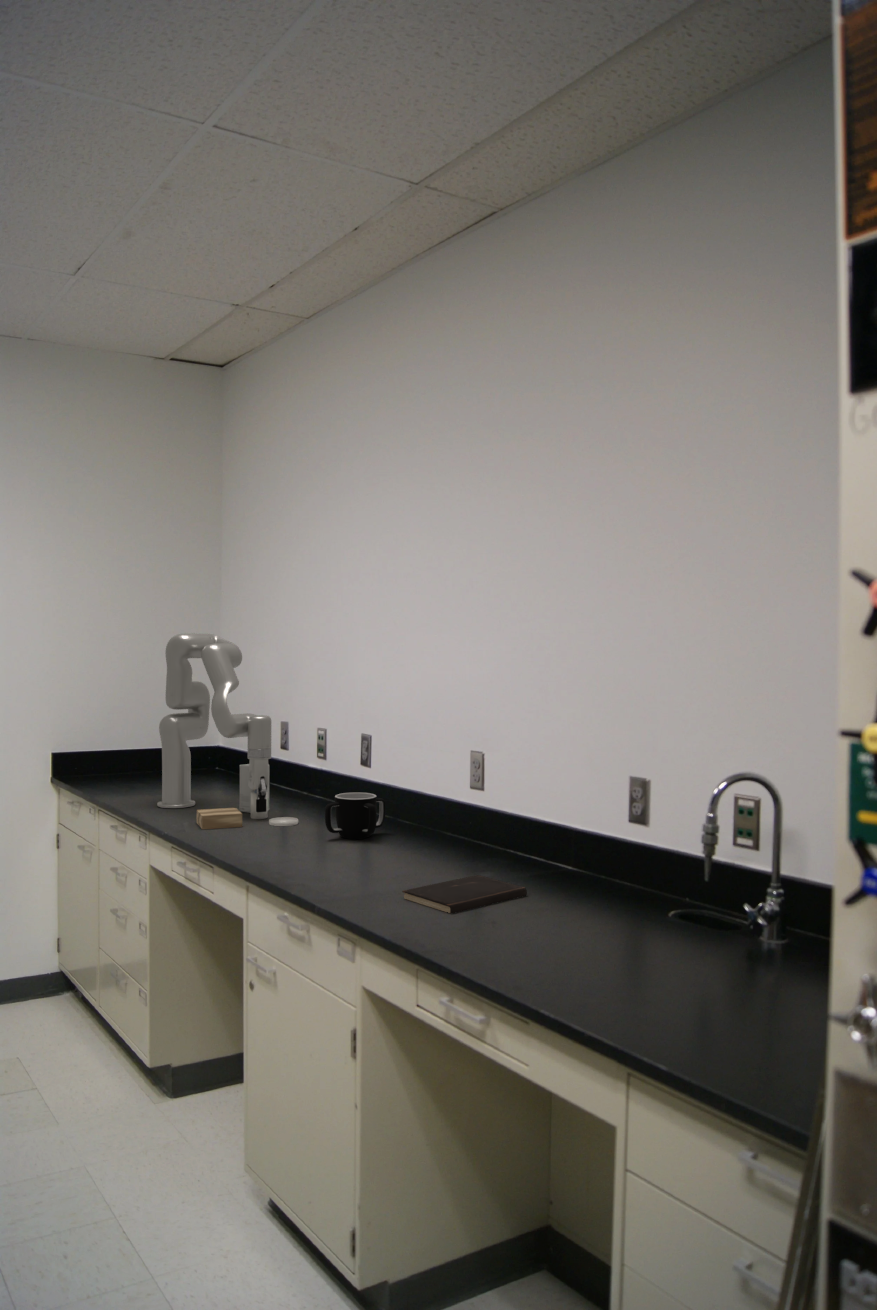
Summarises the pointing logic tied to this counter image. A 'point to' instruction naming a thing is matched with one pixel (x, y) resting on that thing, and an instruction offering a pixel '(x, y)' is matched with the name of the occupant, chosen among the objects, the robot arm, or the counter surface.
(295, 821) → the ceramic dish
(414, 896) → the hardcover book
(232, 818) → the oak slab
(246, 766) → the skincare box
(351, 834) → the mug
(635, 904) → the counter surface
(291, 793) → the counter surface
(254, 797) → the reagent bottle
